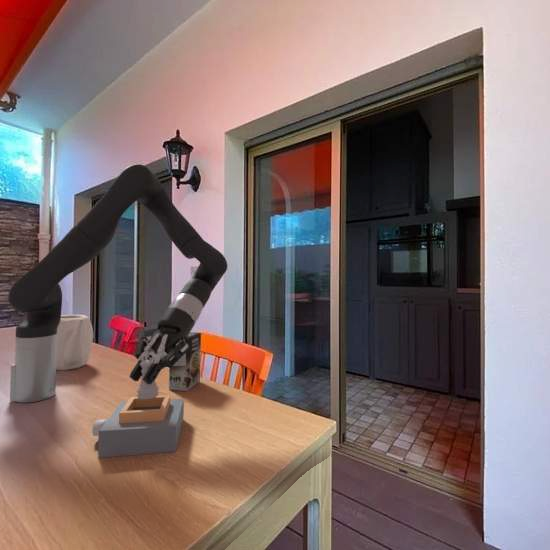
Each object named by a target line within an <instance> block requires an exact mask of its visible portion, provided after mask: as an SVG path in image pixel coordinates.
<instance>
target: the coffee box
mask: <svg viewBox="0 0 550 550" xmlns="http://www.w3.org/2000/svg"><path fill="white" fill-rule="evenodd" d="M184 341H185V342H186V343H187V345H188V346H189V347H190V349H189V350H188V351H187V352H186V353H185V354H184V355H183V356H182V357H181V358H180V359H179V360H178V361H177V362H176V363H175V364H174V365H173V366H172V367H171V368H169V369H168V370H169V371H168V372H169V375H168V376H169V377H168V390H172V391H173V390H174V391H181V392H188V391H189V390H191V389H192V388H194V387H195V386H196V385H198V384H199V383H200V382H201V359H202V358H201V354H202V353H201V352H202V350H201V348H202V344H201V343H202V333H201V332H192V331H190V333H189V335H188V337H187V338H186V339H185V340H184ZM173 358H174V356H173V357H172V358H171V359H170V361H171V360H172V359H173ZM197 383H198V384H197ZM193 386H194V387H193Z"/></svg>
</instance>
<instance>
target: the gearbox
mask: <svg viewBox="0 0 550 550" xmlns="http://www.w3.org/2000/svg"><path fill="white" fill-rule="evenodd" d="M184 404H185V399H184V398H172V399H171V395H170V394H168V395H167V394H166V395H165V394H164V395H163V394H162V395H157V397H155V398H153V399H149V400H141V399H139V398H138V397H137V396H131V397H130V398H129V399H128V400H126V401H120V402H119V404H118V405H117V407H116V408H115V409H114V411H112V413H111V415H110V416H109V417H108V418H104V419H95V421H94V423H93V426H92V435H93V437H98V439H97V440H98V441H97V442H98V443H97V444H98V447H97V449H98V450H97V453H98V454H97V459H98V458H99V459H102V458H113V457H125V456H135V455H136V456H139V455H150V454H162V453H163V454H164V453H176V450H177V448H178V443H179V439H180V435H181V431H182V426H183V423H184V414H185V411H184V409H185V408H184V407H185V405H184Z"/></svg>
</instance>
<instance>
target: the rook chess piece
mask: <svg viewBox="0 0 550 550" xmlns="http://www.w3.org/2000/svg"><path fill="white" fill-rule="evenodd" d="M154 361H155V359H154V358H150V360H148V357H146V358H145V360H144V359H142V362H141V363H140V366H141V367H142V370H141V372H142V376H141V378H140V379H141V380H140V384H139V385H138V388H137V391H136V392H137V394H136V397H138V398H139V399H141V400H149V399H153V398H155V397H157V396H159V393H160V392H159V386H158V384H157V383H156V381H155V380H156V379H155V380H154V381H153V382H152V384H147V383H146V382H144V381H143V377H144V376H145V374H146V373H147V371H148V370H149V368H150V367H151V365H152V364H155V363H154Z"/></svg>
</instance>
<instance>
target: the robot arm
mask: <svg viewBox="0 0 550 550" xmlns="http://www.w3.org/2000/svg"><path fill="white" fill-rule="evenodd" d="M136 202H137V203H139V204H140V203H141V205H143V206H144V207H145V208H146V209H147V210H148V211H150V212H151V213H152V214H153V215H154V216H155V217H156V219H157V220H158V221H159V223H160V225H161V226H162V227H163V230H164V231H165V233H166V234H167V236H168V238H169V239H170V240H171V241H172V243H173V244H174V246H175V247H176V248H177V249H178V250H179V252H180V253H181V254H182V255H183V256H184V257H185V258H186V259H188V260H189V259H190V260H191V259H196V260H197V261H198V262H199V265H198V267H197V268H196V270H195V272H194V273H193V275H192V277H191V278H190V279H189V280H188V281H187V282H186V283H185V284H184V286H183V288H182V289H181V291H180V292H179V293H178V295H177V296H176V297H175V298H174V299H173V300H172V302H171V303H170V304H169V306H168V308H167V309H166V310H165V312H164V313H163V315H162V316H161V317H160V319H159V320H158V323H157V329H156V330H155V331H154V332H153V333H152V334H151V335H150V336H146V335H141V336H140V337H139V340H138V344H137V346H136V349H135V352H134V355H133V356H134V358H136V359H137V360H138V361H137V363H136V364H135V366H134V367H133V369H132V371H131V372H130V374H129V378H130V379H131V380H132V381H134V382H139V380H140V379H141V378H142V372H141V370H142V367H141V366H140V363H141V362H142V359H144V360H145V358H148V360H150V358H154V363H155V364H152V365H151V367H150V368H149V370H148V371H147V373H146V374H145V376H144V377H143V381H144V382H146V383H147V384H152V382H153V381H154V380H156V379H157V377H158V376H159V374H160V373H161V371H162V370H164V369H165V368H169V369H170V368H171V367H172V366H173V365H174V364H175V363H176V362H177V361H178V360H179V359H180V358H181V357H182V356H183V355H184V354H185V353H186V352H187V351H188V350H189V349H190V347H189V346H188V345H187V343H186V342H185V341H184V340H185V339H186V338H187V337H188V335H189V333H190V332H192V330H193V328H194V327H195V325H196V323H197V322H198V320H199V318H200V317H201V314H202V311H203V310H204V307H206V304H207V303H208V301H209V299H210V297H211V294H212V292H213V290H214V289H215V288H216V287H217V285H218V283H219V282H220V281H221V279H222V278H223V276H224V274H226V272H227V270H228V261H227V260H226V258H225V255H224V254H223V253H222V252H221V251H219V250H218V249H216V248H215V247H214V246H213V245H211V244H210V243H208V242H207V241H205V240H204V239H203V237H202V236H201V235H200V233H199V232H198V231H197V230H196V228H195V227H194V226H193V225H192V224H191V223H190V222H189V221H188V220H187V218H185V217H184V215H183V214H182V213H181V212H180V211H179V209H178V208H177V207H176V206H175V204H174V203H173V202H172V200H171V198H170V197H169V195H168V194H167V192H166V190H165V188H164V187H163V185H162V182H161V181H160V179H159V178H158V176H157V175H155V174H154V173H153V172H152V171H151V169H149V168H148V167H147V166H145V165H144V164H139V163H135V164H131V165H129V166H127V167H125V169H124V170H122V171H121V172H120V174H119V175H118V176H117V177H116V179H115V180H114V181H113V182H112V184H111V186H110V187H109V188H108V189H107V191H106V192H105V193H104V194H103V196H102V197H101V198H100V199H99V200H98V201H97V202H96V203H95V204H94V205H93V206H92V208H90V210H89V211H88V212H87V213H86V214H85V215H84V216H83V217H82V218H81V219H80V220H78V222H77V223H76V224H74V226H73V227H72V228H70V230H69V231H68V232H67V233H66V234H65V235H64V237H63V238H62V239H61V240H60V241H59V242H58V243H57V244H56V245H55V246H54V247H53V248H52V249H51V250H49V252H48V253H47V254H46V255H45V256H44V257H43V258H42V259H41V260H40V261H39V262H38V263H37V264H35V266H33V267H32V268H31V269H29V270H28V271H27V272H26V273H25V274H24V275H22V276H21V277H20V278H18V279H17V280H16V281H15V282H14V283H13V284H12V286H11V287H10V289H9V292H8V295H7V296H8V298H7V299H8V302H9V304H10V306H11V307H12V308H13V309H14V310H16V311H19V312H26V316H25V318H24V319H23V320H22V322H20V323H19V324H18V325H17V326H16V327H15V339H14V342H15V343H14V352H15V353H14V364H12V365H11V366H10V382H9V383H10V385H9V387H10V388H9V389H10V391H9V402H16V403H19V404H23V403H33V402H35V403H36V402H39V401H40V402H41V401H44V400H47V399H49V398H52V397H54V396H55V395H56V393H57V392H56V389H57V383H56V382H57V370H56V351H57V328H58V325H59V323H60V320H61V315H62V307H63V291H62V287H61V285H60V283H61V281H62V280H63V279H64V278H66V277H67V276H69V275H70V274H71V273H74V272H75V271H77V270H79V269H80V268H83V266H85V265H86V264H88V263H90V262H92V260H94V259H96V257H97V256H99V255H100V254H101V252H102V251H104V249H105V248H106V247H107V246H108V245H109V244H110V243H111V241H112V240H113V238H114V236H115V233H116V231H117V228H118V225H119V222H120V220H121V219H122V216H123V215H124V214H125V212H126V211H127V210H128V209H129V208H130V207H132V205H133V204H134V203H136ZM173 356H174V358H173V359H172V360H171V361H170V359H171V358H172V357H173Z"/></svg>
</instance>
